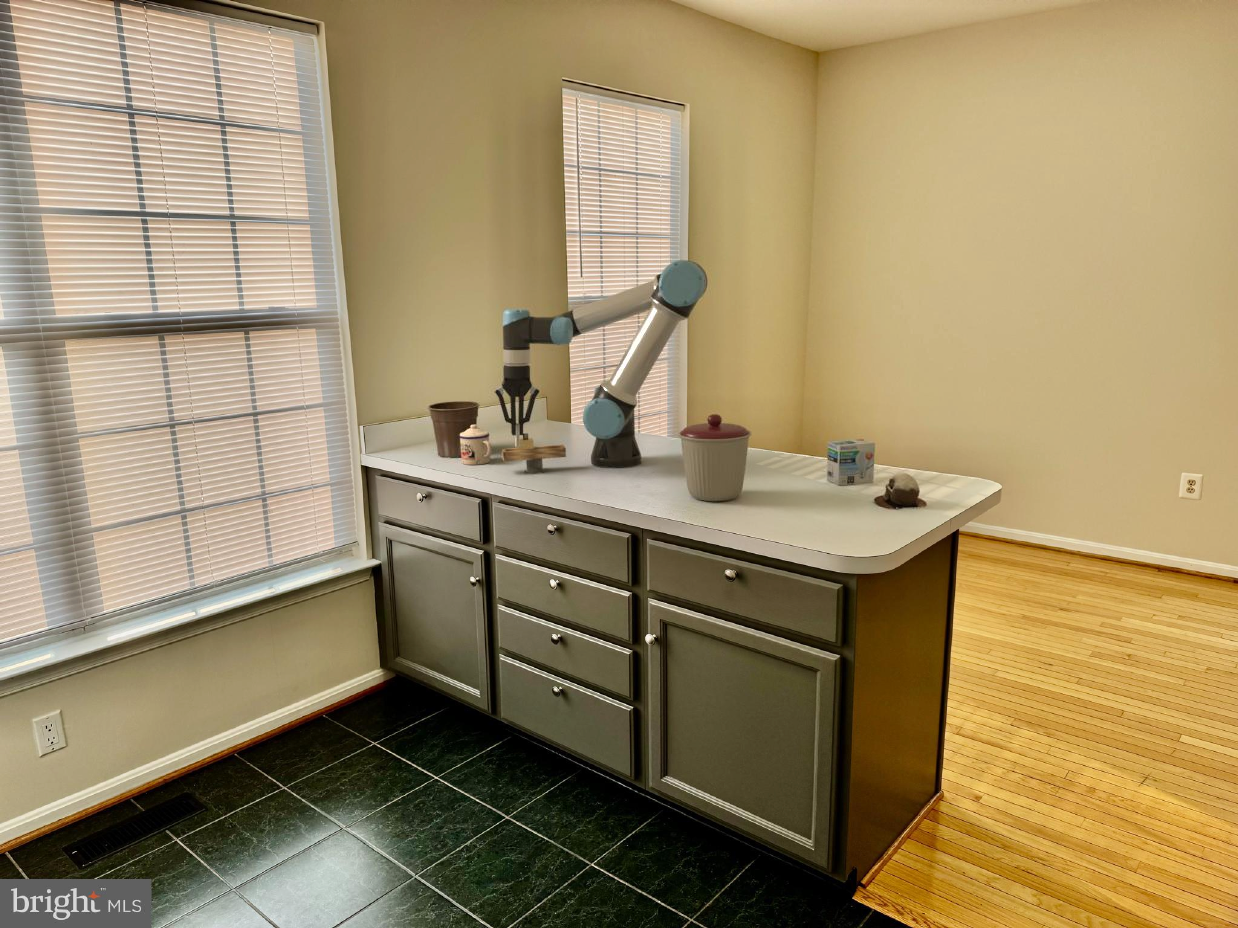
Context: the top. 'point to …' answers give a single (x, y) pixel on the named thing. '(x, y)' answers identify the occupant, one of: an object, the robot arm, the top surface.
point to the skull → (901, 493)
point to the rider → (526, 443)
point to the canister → (714, 459)
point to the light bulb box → (850, 462)
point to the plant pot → (452, 424)
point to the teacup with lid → (475, 446)
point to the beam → (534, 456)
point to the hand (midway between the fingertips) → (517, 446)
